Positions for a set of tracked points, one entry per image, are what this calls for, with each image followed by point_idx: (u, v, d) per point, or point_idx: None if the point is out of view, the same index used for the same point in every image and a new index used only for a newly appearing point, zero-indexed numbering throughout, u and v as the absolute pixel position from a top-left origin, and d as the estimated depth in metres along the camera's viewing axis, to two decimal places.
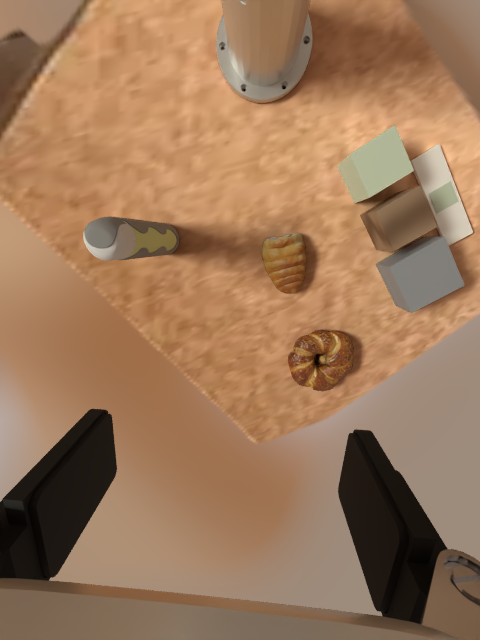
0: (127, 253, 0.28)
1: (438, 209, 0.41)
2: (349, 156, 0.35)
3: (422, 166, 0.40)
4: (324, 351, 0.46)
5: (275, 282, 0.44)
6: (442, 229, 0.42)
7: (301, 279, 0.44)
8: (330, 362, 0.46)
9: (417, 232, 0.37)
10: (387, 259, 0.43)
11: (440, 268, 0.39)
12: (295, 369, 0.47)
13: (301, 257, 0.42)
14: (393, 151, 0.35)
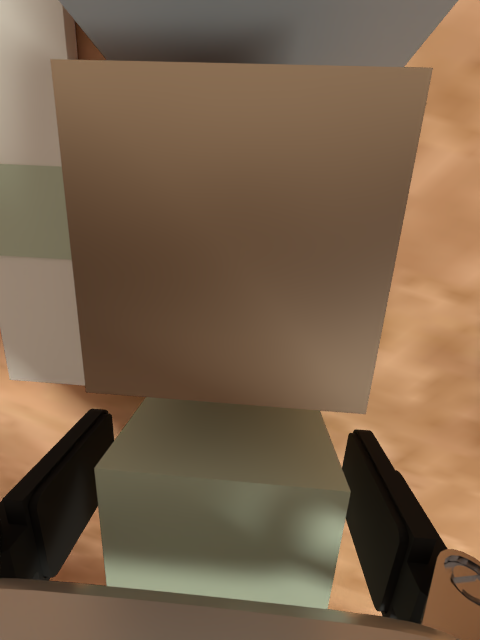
0: None
1: (54, 178, 0.10)
2: None
3: (71, 352, 0.12)
4: None
5: None
6: None
7: None
8: None
9: (198, 108, 0.04)
10: None
11: None
12: None
13: None
14: (153, 577, 0.07)
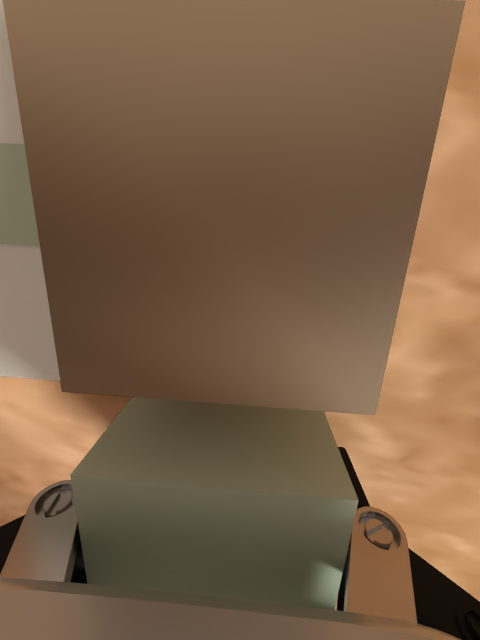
0: None
1: None
2: None
3: None
4: None
5: None
6: None
7: None
8: None
9: (183, 54, 0.04)
10: None
11: None
12: None
13: None
14: None
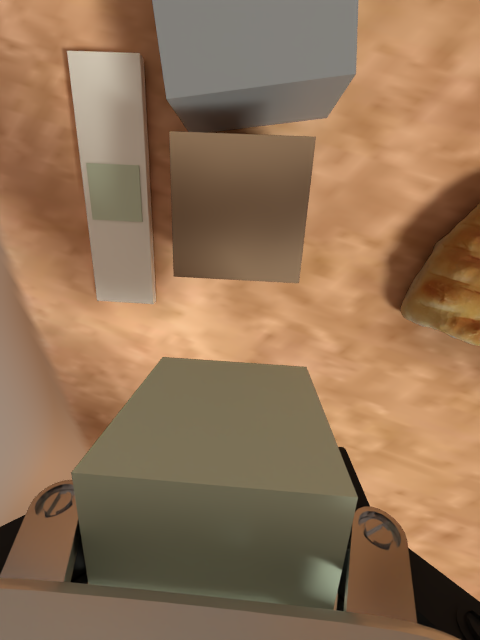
0: None
1: (131, 172, 0.17)
2: None
3: (137, 281, 0.19)
4: None
5: None
6: (137, 114, 0.16)
7: None
8: None
9: (227, 150, 0.11)
10: (302, 114, 0.15)
11: None
12: None
13: (461, 273, 0.15)
14: (140, 588, 0.07)
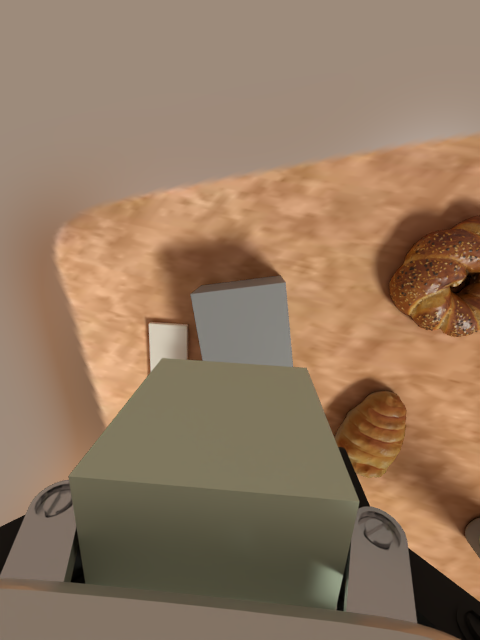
0: None
1: None
2: None
3: None
4: (450, 300, 0.24)
5: (404, 423, 0.29)
6: (183, 350, 0.29)
7: (370, 411, 0.28)
8: (462, 277, 0.23)
9: None
10: None
11: (221, 337, 0.24)
12: None
13: (355, 441, 0.28)
14: None
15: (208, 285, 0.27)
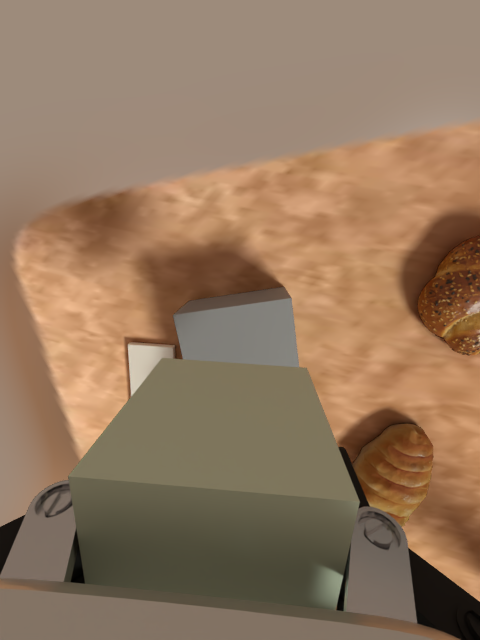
0: None
1: None
2: None
3: None
4: None
5: (431, 463, 0.24)
6: None
7: (391, 449, 0.24)
8: None
9: None
10: None
11: None
12: None
13: (372, 486, 0.24)
14: None
15: (197, 300, 0.23)
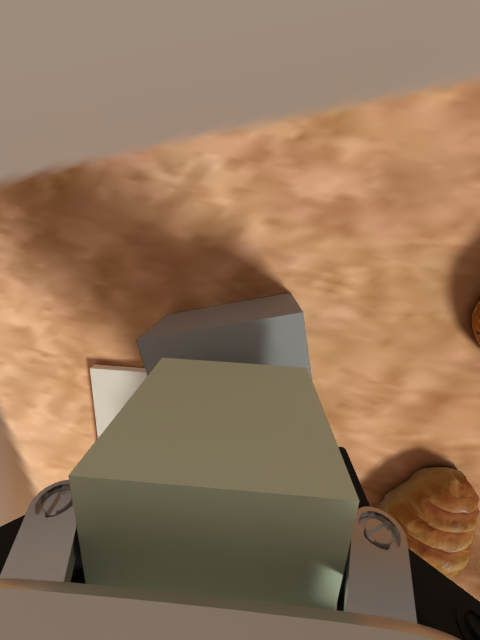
0: None
1: None
2: None
3: None
4: None
5: None
6: None
7: (425, 503, 0.18)
8: None
9: None
10: None
11: None
12: None
13: None
14: None
15: (176, 314, 0.17)
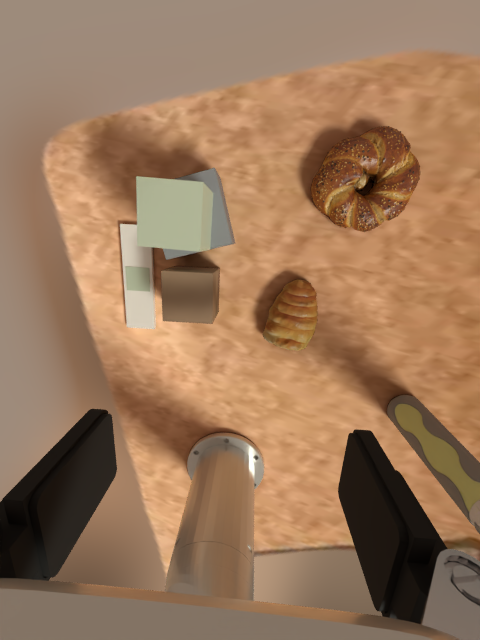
0: None
1: (145, 270, 0.37)
2: (200, 249, 0.26)
3: (147, 318, 0.39)
4: (354, 196, 0.31)
5: (315, 303, 0.36)
6: (148, 247, 0.36)
7: (285, 293, 0.35)
8: (359, 175, 0.30)
9: (182, 277, 0.32)
10: None
11: None
12: (407, 195, 0.31)
13: (275, 319, 0.35)
14: (150, 218, 0.25)
15: None
